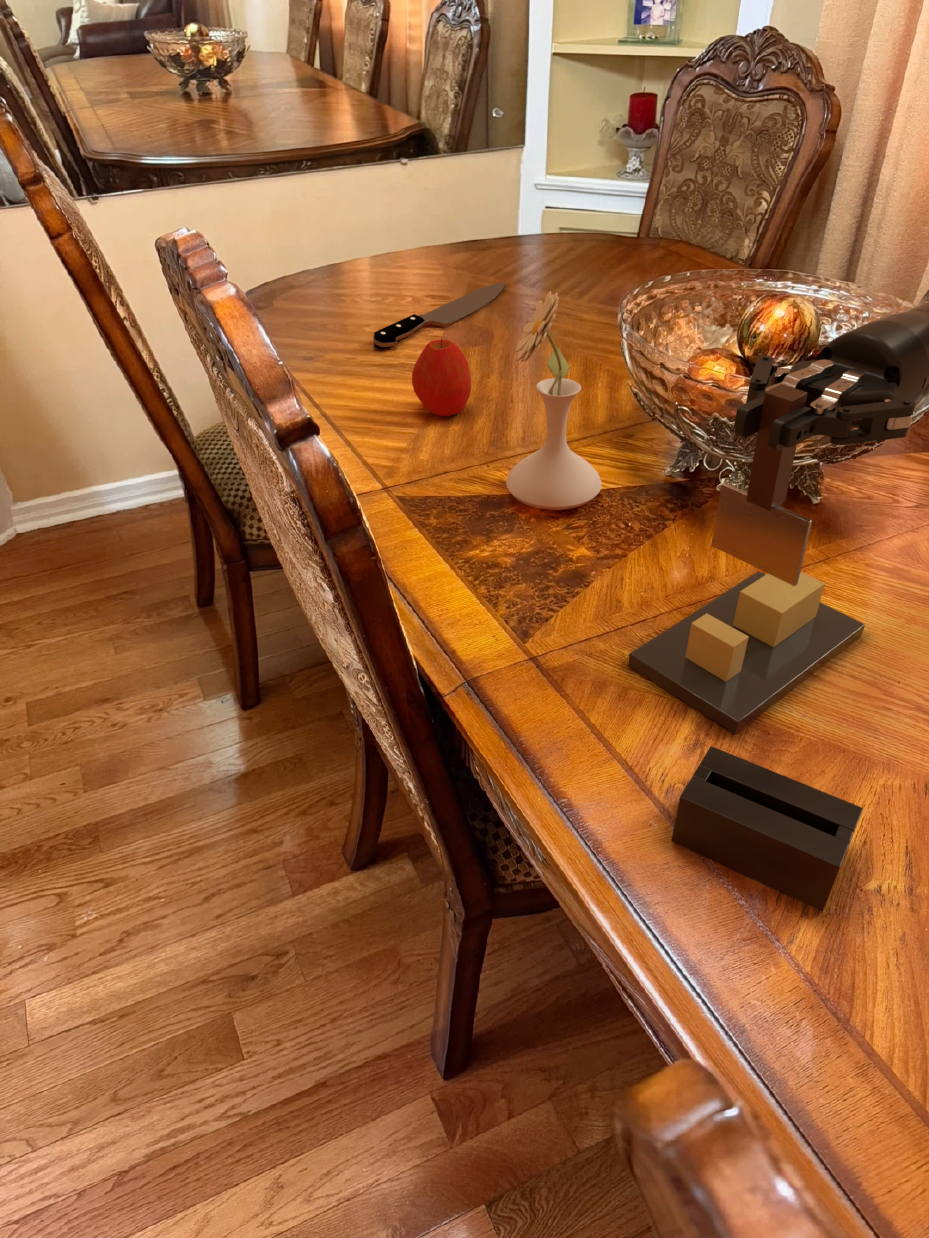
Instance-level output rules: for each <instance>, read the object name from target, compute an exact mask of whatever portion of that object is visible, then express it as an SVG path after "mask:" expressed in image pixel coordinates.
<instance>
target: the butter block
mask: <svg viewBox="0 0 929 1238" xmlns="http://www.w3.org/2000/svg"><path fill="white" fill-rule="evenodd" d="M825 585H826V583H825V582H824V581H822V580H819V579H818V578H815V577H813V576H811V575H809V574H807V573H805V572H803V571H802V570H801V571H800V575H799V580H798V584H797V585H796V586H793V585H791V584H789V583H787V582H784V581H782V580H780V579H778V578H776V577H774V576H772V575H770V574H768V573H766V574H765V576H763V577H762V578H760V579H759V580H757V581H755V582H754V583H752V584H751V585H749V586H748V587H746V588H745V589H743V590H742V591H740V595H739V599H738V604H737V609H736V613H735V618H734V623H733V625H734V626H735V627H737V628H739V629H741V630H743V631H744V632H746V633H748V634H750V635H752V636H754V637H755V638H757V639H759V640H761V641H763V642H764V643H766V644H768V645H770V646H772V647H775V646H776V645H777V644H779V643H780V642H782V641H783V640H784V639H786V638H787V637H788V636H790V635H791V634H793V633H794V632H795V631H797V630H798V629H800V628H801V627H802V626H804V625H805V624H806V623H808V622H809V621H811V620H812V619H813V618H815V617H816V614H817V610H818V607H819V603H820V602H821V599H822V596H823V594H824V593H823V592H824V589H825Z"/></svg>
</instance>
